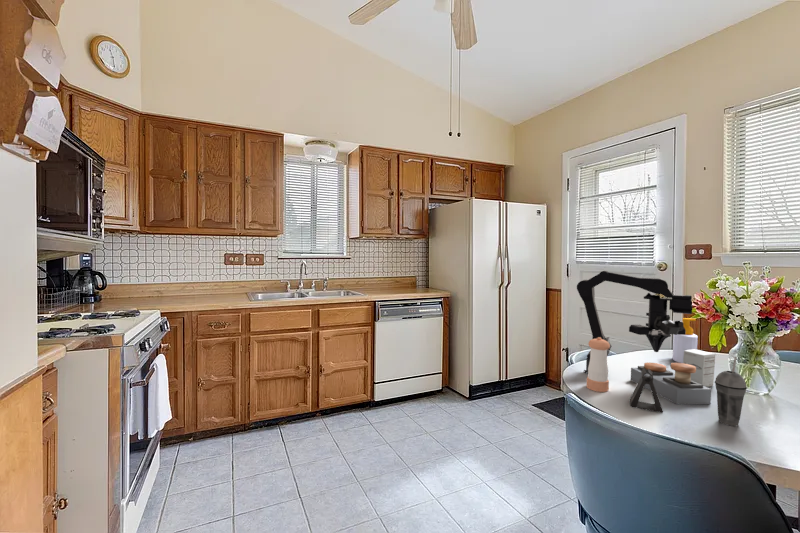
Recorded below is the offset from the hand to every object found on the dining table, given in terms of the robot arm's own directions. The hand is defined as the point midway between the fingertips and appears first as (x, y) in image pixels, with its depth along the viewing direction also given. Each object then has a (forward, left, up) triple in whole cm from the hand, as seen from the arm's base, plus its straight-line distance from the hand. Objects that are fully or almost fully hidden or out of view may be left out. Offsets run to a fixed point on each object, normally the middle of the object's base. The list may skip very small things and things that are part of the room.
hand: (656, 351), depth 143 cm
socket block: (0, -6, -13) cm, 14 cm away
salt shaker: (-25, -3, -13) cm, 28 cm away
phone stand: (-18, -19, -13) cm, 30 cm away
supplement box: (+18, +1, -13) cm, 22 cm away
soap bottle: (+37, +29, -13) cm, 48 cm away
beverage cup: (-1, -31, -13) cm, 34 cm away
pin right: (0, -13, -8) cm, 15 cm away
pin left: (0, 0, -12) cm, 12 cm away
